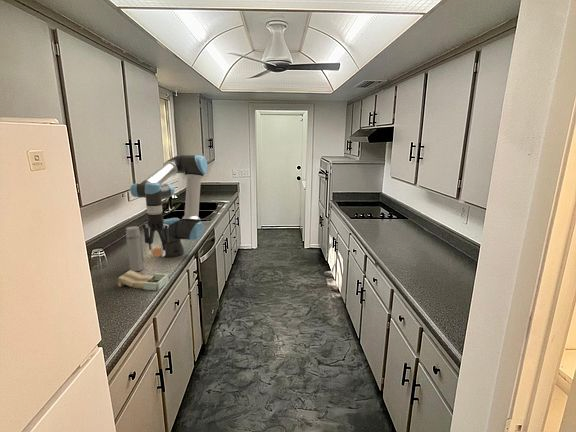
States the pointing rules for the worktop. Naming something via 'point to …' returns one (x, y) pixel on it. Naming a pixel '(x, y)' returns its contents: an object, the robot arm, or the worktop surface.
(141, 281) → the ramp lane
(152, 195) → the robot arm
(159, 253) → the ball
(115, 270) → the worktop surface
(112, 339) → the worktop surface
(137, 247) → the water bottle
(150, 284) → the tray
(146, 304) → the worktop surface
